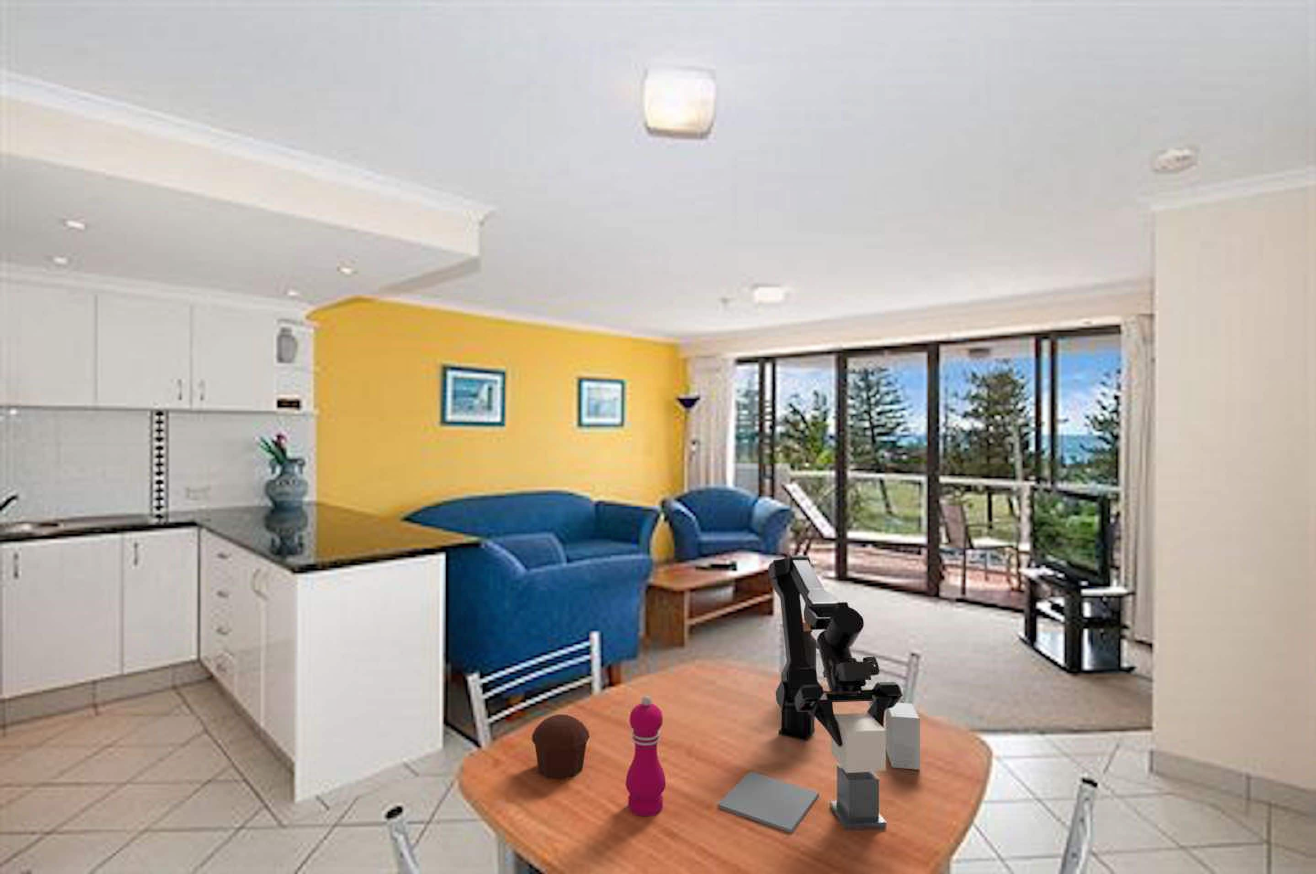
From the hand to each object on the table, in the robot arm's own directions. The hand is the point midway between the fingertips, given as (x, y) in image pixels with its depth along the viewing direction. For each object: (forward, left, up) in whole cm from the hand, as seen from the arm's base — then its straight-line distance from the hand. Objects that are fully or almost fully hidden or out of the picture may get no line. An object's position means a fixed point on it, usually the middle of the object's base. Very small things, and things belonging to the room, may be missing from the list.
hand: (861, 745), depth 113 cm
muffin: (-56, -15, -14) cm, 59 cm away
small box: (+1, +27, -14) cm, 30 cm away
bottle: (-28, +47, -14) cm, 56 cm away
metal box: (-1, +1, -13) cm, 13 cm away
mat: (-16, -3, -13) cm, 21 cm away
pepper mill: (-34, -17, -14) cm, 40 cm away
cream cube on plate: (-1, +1, -4) cm, 4 cm away
